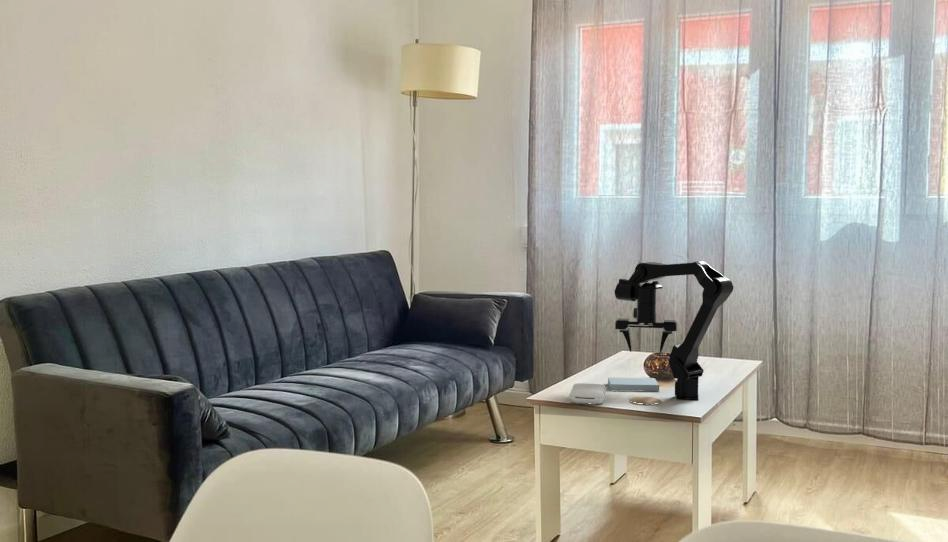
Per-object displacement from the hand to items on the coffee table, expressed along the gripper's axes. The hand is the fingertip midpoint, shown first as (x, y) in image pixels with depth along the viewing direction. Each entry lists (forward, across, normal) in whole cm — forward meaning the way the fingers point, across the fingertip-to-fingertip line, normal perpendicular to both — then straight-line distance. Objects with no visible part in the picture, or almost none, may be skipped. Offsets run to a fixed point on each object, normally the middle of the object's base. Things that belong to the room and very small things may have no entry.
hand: (645, 352), depth 288 cm
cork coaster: (+12, -1, +17) cm, 21 cm away
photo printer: (+10, +16, +14) cm, 23 cm away
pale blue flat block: (+12, +4, -3) cm, 13 cm away
